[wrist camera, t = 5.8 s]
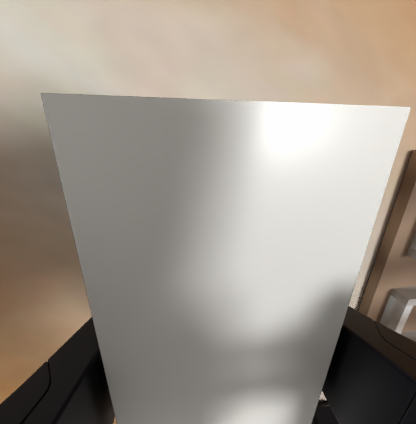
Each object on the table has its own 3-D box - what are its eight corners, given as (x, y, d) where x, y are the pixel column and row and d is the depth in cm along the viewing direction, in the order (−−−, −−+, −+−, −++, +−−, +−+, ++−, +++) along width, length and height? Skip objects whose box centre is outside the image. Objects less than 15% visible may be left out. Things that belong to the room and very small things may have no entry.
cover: (258, 369, 12) (295, 474, 8) (149, 385, 11) (136, 510, 7) (293, 119, 7) (410, 107, 4) (115, 115, 7) (40, 92, 3)
